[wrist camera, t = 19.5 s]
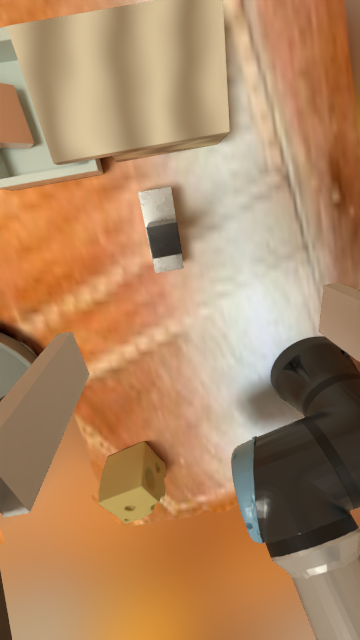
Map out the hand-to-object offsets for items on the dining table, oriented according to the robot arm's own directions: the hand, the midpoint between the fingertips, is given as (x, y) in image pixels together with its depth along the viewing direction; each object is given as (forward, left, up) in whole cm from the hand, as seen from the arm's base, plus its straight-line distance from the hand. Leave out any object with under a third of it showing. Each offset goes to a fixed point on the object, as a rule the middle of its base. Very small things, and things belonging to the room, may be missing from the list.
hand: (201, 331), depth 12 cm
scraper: (+1, -3, -25) cm, 25 cm away
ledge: (+1, -17, -25) cm, 30 cm away
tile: (+15, -17, -22) cm, 32 cm away
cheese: (+17, +46, -26) cm, 55 cm away
